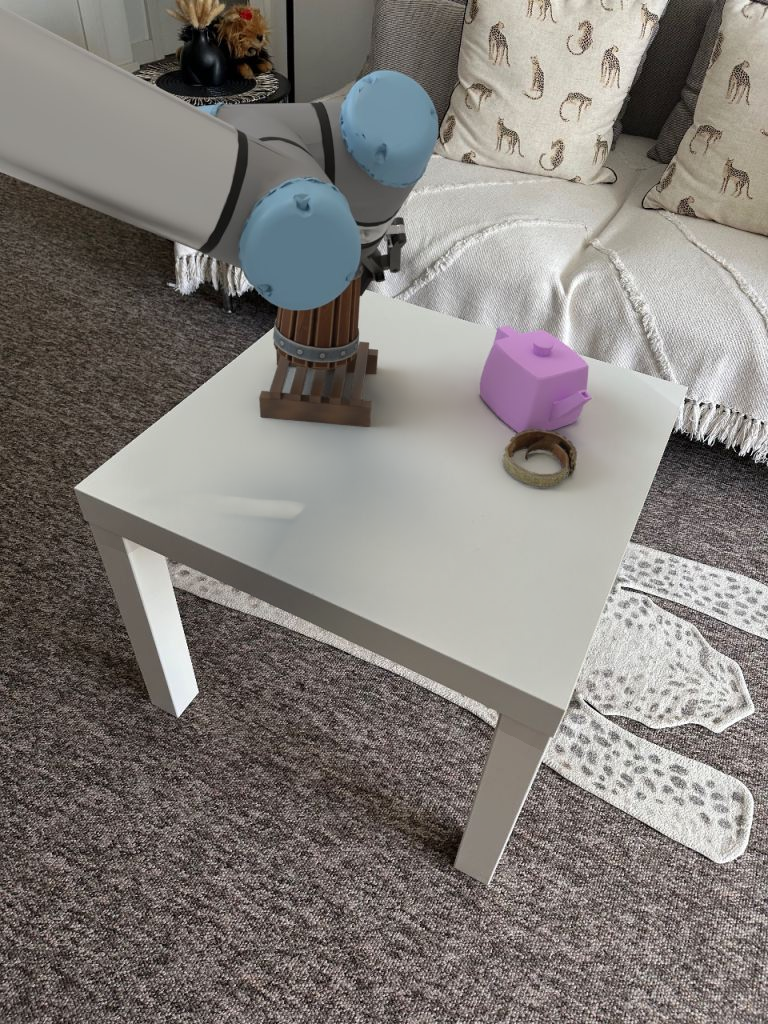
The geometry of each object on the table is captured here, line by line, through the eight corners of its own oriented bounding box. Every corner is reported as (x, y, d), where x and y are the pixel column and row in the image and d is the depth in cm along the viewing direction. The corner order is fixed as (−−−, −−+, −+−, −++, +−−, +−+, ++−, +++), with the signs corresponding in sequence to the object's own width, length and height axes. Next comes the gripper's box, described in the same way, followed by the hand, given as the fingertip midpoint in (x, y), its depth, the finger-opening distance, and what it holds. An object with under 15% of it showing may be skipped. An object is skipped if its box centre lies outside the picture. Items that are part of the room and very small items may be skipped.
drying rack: (260, 417, 90) (258, 390, 87) (278, 359, 100) (277, 333, 98) (369, 427, 90) (371, 401, 87) (377, 368, 100) (378, 343, 98)
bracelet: (580, 458, 88) (586, 439, 86) (563, 499, 83) (569, 480, 81) (513, 437, 91) (518, 418, 89) (492, 475, 85) (496, 456, 83)
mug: (339, 381, 84) (354, 258, 74) (257, 355, 85) (262, 231, 75) (381, 328, 95) (399, 214, 85) (308, 306, 97) (318, 192, 87)
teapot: (602, 438, 92) (626, 370, 85) (538, 458, 88) (557, 389, 81) (520, 368, 103) (535, 303, 96) (460, 383, 99) (471, 316, 92)
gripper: (240, 254, 64) (231, 326, 85) (469, 240, 69) (406, 311, 91) (227, 172, 64) (221, 264, 85) (457, 165, 69) (397, 253, 91)
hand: (317, 288), depth 88 cm, fingers closed on mug, 10 cm apart
